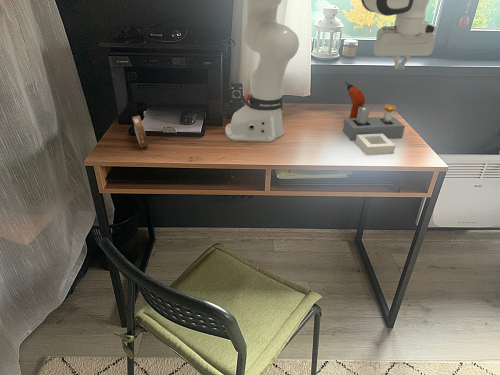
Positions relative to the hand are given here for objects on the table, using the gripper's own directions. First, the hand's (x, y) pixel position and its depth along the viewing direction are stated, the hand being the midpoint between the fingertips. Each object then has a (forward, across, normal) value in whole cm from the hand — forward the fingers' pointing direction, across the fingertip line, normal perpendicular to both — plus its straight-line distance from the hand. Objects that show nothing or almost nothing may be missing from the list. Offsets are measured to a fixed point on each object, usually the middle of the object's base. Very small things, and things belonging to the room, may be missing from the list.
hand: (398, 68), depth 132 cm
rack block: (+25, -9, -11) cm, 29 cm away
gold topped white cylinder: (+23, 0, 0) cm, 23 cm away
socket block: (+25, -5, 0) cm, 25 cm away
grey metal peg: (+25, -10, 0) cm, 27 cm away
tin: (+25, -91, +3) cm, 94 cm away
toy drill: (+25, -9, +14) cm, 30 cm away
